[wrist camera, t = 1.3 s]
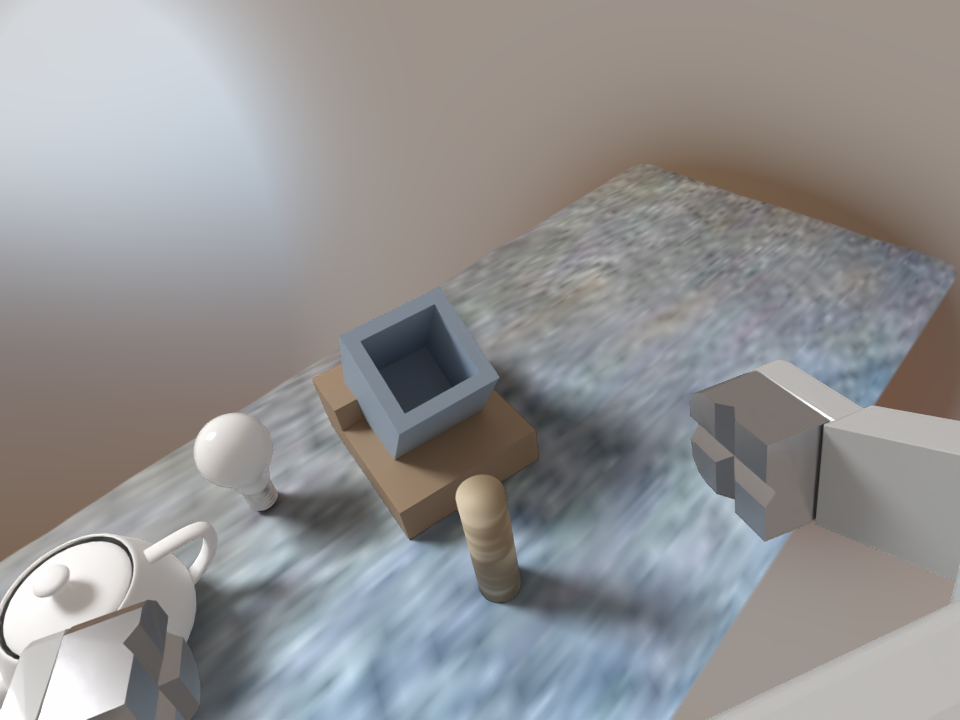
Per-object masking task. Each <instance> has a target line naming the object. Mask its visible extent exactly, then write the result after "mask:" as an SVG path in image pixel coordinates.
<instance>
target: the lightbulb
mask: <svg viewBox="0 0 960 720" xmlns="http://www.w3.org/2000/svg"><path fill="white" fill-rule="evenodd" d="M272 454H273V443H272V439H271V436H270V434H269V432H268V430H267V429H266V427H265V426H264V425H263V424H262V423H261V422H260V421H259V420H257V419H256V418H254V417H252V416H249V415H246V414H242V413H229V414H224V415H221V416H218V417H216V418H214V419H213V420H211V421H210V422H208V424H206V425H205V426H204V427H203V428H202V430H201V431H200V432H199V434H198V436H197V438H196V441H195V444H194V460H195V463H196V466H197V468H198V470H199V471H200V473H201V474H202V475H203V476H204V477H205V478H206V479H207V480H208V481H210V482H211V483H213V484H215V485H218V486H221V487H225V488H233V489H234V490H235V491H237V492H238V493H240V494H242V495H243V496H244V498H245V499H246V501H247V503H248V504H249V506H250V507H251V508H252V509H253V510H255V511H263V510H266V509H268V508H270V507H271V506H272V505H273V504H274V503H275V502H276V500H277V497H278V493H277V490H276V489H275V487H274V485H273V484H272V482H271V480H270V472H269V468H268V467H269V465H270V462H271V459H272Z"/></svg>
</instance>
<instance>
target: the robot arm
mask: <svg viewBox="0 0 960 720" xmlns="http://www.w3.org/2000/svg"><path fill="white" fill-rule="evenodd" d="M690 416H691V417H692V418H693V419H694V420H695V421H696V422H697V423H698V424H699V425H698V427H697V429H696V431H695V432H694V434H693V436H692V438H691V444H692V455H693V458H694V461H695V463H696V466H697V468H698V471H699V473H700V474H701V476H702V477H703V479H704V480H705V482H706V483H707V484H708V485H709V486H710V487H711V488H712V489H713V491H714V492H715V493H716V494H719V495H722V496H725V497H729V498H732V499H735V513H736V514H737V515H738V516H739V517H740V518H741V519H742V520H743V521H744V522H745V523H746V524H747V525H748V526H749V527H750V528H751V529H752V530H753V531H754V532H755V533H756V534H757V535H758V536H759V537H760V538H761V539H762V540H763V541H764V542H765V541H768V540H770V539H773V538H775V537H778V536H780V535H783V534H785V533H788V532H790V531H793V530H795V529H798V528H800V527H803V526H805V525H808V524H810V523H813V522H816V525H818V526H821V527H823V528H825V529H828V530H830V531H832V532H835V533H837V534H840V535H842V536H845V537H847V538H850V539H852V540H854V541H857V542H860V543H862V544H864V545H867V546H869V547H872V548H874V549H876V550H879V551H882V552H884V553H886V554H889V555H891V556H894V557H896V558H898V559H901V560H904V561H906V562H908V563H911V564H913V565H915V566H918V567H921V568H923V569H926V570H928V571H930V572H933V573H935V574H938V575H940V576H942V577H945V578H947V579H950V580H952V581H955V586H954V590H953V594H952V598H951V602H950V605H948V606H945V607H943V608H941V609H939V610H937V611H935V612H933V613H931V614H929V615H926V616H924V617H922V618H920V619H918V620H916V621H914V622H912V623H910V624H907V625H905V626H903V627H901V628H899V629H897V630H895V631H893V632H891V633H889V634H886V635H884V636H882V637H880V638H878V639H876V640H874V641H872V642H869V643H868V644H865V645H863V646H861V647H859V648H857V649H855V650H853V651H851V652H849V653H847V654H844V655H842V656H840V657H838V658H836V659H834V660H832V661H830V662H828V663H825V664H823V665H821V666H819V667H817V668H815V669H813V670H811V671H809V672H806V673H804V674H802V675H800V676H798V677H796V678H794V679H792V680H790V681H787V682H785V683H783V684H781V685H779V686H777V687H775V688H773V689H771V690H768V691H766V692H764V693H762V694H760V695H758V696H756V697H754V698H752V699H749V700H747V701H745V702H743V703H741V704H739V705H737V706H735V707H733V708H730V709H729V710H726V711H724V712H722V713H720V714H718V715H716V716H714V717H711V718H709V719H707V720H960V421H955V420H950V419H944V418H939V417H933V416H928V415H922V414H916V413H911V412H906V411H900V410H895V409H889V408H884V407H878V406H873V405H872V406H869V407H867V408H864V409H863V408H861V407H860V406H858V405H857V404H855V403H853V402H852V401H850V400H849V399H847V398H845V397H844V396H842V395H841V394H839V393H837V392H836V391H834V390H833V389H831V388H829V387H828V386H826V385H824V384H823V383H821V382H820V381H818V380H816V379H815V378H813V377H812V376H810V375H808V374H807V373H805V372H804V371H802V370H800V369H799V368H797V367H796V366H794V365H792V364H791V363H789V362H787V361H782V360H776V361H773V362H771V363H768V364H766V365H763V366H761V367H758V368H756V369H754V370H751V371H749V373H745V374H743V375H740V376H737V377H735V378H732V379H730V380H727V381H724V382H722V383H719V384H717V385H714V386H712V387H709V388H706V389H704V390H701V391H699V392H696V393H693V394H692V397H691V400H690ZM167 624H168V615H167V614H166V613H165V611H164V610H163V609H162V607H161V606H160V605H159V603H158V602H157V601H154V600H146V601H143V602H140V603H137V604H134V605H131V606H129V607H126V608H123V609H120V610H117V611H114V612H112V613H109V614H106V615H103V616H100V617H98V618H95V619H92V620H89V621H86V622H83V623H81V624H78V625H75V626H72V627H71V628H69V629H66V630H63V631H60V632H57V633H54V634H52V635H49V636H46V637H43V638H40V639H38V640H35V641H32V642H31V643H30V644H29V645H28V646H27V647H26V648H25V649H24V650H23V651H22V653H21V655H20V658H19V661H18V663H17V666H16V669H15V672H14V675H13V677H12V680H11V683H10V686H9V688H8V691H7V694H6V697H5V699H4V702H3V705H2V708H1V711H0V720H191V719H192V717H193V716H194V714H195V712H196V711H197V709H198V708H199V706H200V689H201V685H200V679H199V673H198V667H197V663H196V661H195V658H194V656H193V653H192V651H191V649H190V647H189V646H188V644H187V643H186V641H185V640H184V638H183V637H180V636H177V635H174V634H171V633H168V632H167Z"/></svg>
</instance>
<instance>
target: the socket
mask: <svg viewBox="0 0 960 720" xmlns="http://www.w3.org/2000/svg"><path fill="white" fill-rule="evenodd" d="M340 347H341V358H342V364H340V365H338V366H336V367H334V368H332V369H330V370H328V371H326V372H324V373H322V374H320V375H318V376H316V377H314V378H312V381H313V383H314V385H315V388H316V390H317V392H318V395H319V397H320V399H321V402H322V404H323V406H324V409H325V411H326V413H327V416H328V418H329V420H330V423H331V425H332V426H333V428H334V429H335V431H336V432H337V434H338V435H339V437H340V438H341V440H342V441H343V443H344V444H345V446H346V447H347V449H348V450H349V452H350V453H351V454H352V456H353V457H354V459H355V460H356V462H357V463H358V465H359V466H360V468H361V469H362V471H363V472H364V474H365V475H366V477H367V478H368V480H369V481H370V483H371V484H372V485H373V487H374V488H375V490H376V491H377V493H378V494H379V496H380V497H381V499H382V500H383V502H384V503H385V505H386V506H387V508H388V509H389V511H390V512H391V514H392V515H393V516H394V518H395V519H396V521H397V522H398V524H399V525H400V527H401V528H402V530H403V531H404V533H405V534H406V536H407V537H408V539H409V540H410V539H412V538H413V537H415V536H416V535H418V534H420V533H421V532H423V531H424V530H426V529H428V528H429V527H431V526H432V525H434V524H436V523H437V522H439V521H440V520H442V519H443V518H445V517H447V516H448V515H450V514H451V513H453V512H455V511H456V510H458V507H457V503H456V492H457V489H458V487H459V486H460V485H461V483H462V482H464V481H465V480H466V479H468V478H470V477H472V476H475V475H490V476H493V477H495V478H497V479H498V480H499V481H500V482H502V481H504V480H505V479H507V478H509V477H510V476H512V475H513V474H515V473H516V472H518V471H520V470H521V469H523V468H524V467H526V466H528V465H529V464H531V463H532V462H534V461H536V460H537V459H539V453H538V444H537V435H536V430H535V429H534V428H533V427H532V426H531V425H530V424H529V423H528V422H527V421H526V420H525V419H524V418H523V417H522V416H521V415H520V414H519V413H518V412H517V411H516V410H515V409H514V408H513V407H512V406H511V405H510V404H509V403H508V402H507V401H506V400H504V399H503V398H502V397H501V396H500V395H499V394H498V393H497V392H496V391H495V390H494V387H495V385H496V384H497V382H498V380H499V378H500V377H499V376H498V374H497V373H496V371H495V370H494V368H493V367H492V365H491V364H490V362H489V361H488V359H487V358H486V356H485V355H484V353H483V352H482V350H481V349H480V347H479V346H478V344H477V343H476V341H475V340H474V338H473V337H472V335H471V334H470V332H469V331H468V329H467V328H466V326H465V325H464V323H463V321H462V320H461V318H460V317H459V315H458V314H457V312H456V311H455V309H454V308H453V306H452V305H451V303H450V302H449V300H448V299H447V297H446V296H445V294H444V293H443V291H442V290H441V288H440V287H438V288H436V289H434V290H432V291H430V292H428V293H426V294H424V295H422V296H420V297H418V298H416V299H414V300H411V301H409V302H407V303H405V304H403V305H401V306H399V307H397V308H395V309H393V310H391V311H389V312H387V313H385V314H383V315H381V316H379V317H377V318H375V319H373V320H371V321H369V322H367V323H365V324H363V325H361V326H359V327H356V328H354V329H353V330H350V331H348V332H346V333H344V334H342V335H340Z"/></svg>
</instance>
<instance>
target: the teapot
mask: <svg viewBox="0 0 960 720" xmlns="http://www.w3.org/2000/svg"><path fill="white" fill-rule="evenodd" d="M200 538H203V546H202V549H201V552H200V554H199V556H198V558H197V559H196V561H195V562H194V564H193V565H192V566H191V567H190V568H189V570H187V569H186V567H185V566H184V564H183V563H182V562H181V561H180V560H179V559H177V558H176V557H175V556H174V555H173V554H171V553H172V552H173V551H175V550H177V549H179V548H180V547H182V546H184V545H186V544H188V543H190V542H192V541H194V540H196V539H200ZM217 544H218V539H217V534H216V532H215V530H214V528H213V527H212V526H211V525H210V524H209V523H206V522H197V523H194V524H191V525H188V526H186V527H184V528H182V529H180V530H178V531H176V532H174V533H173V534H171V535H169V536H167V537H166V538H164V539H162V540H161V541H159V542H157V543H156V544H152V543H150V542H147V541H144V540H140V539H136V538H131V537H126V536H120V535H113V534H106V533H105V534H92V535H87V536H82V537H79V538H76V539H74V540H71V541H68V542H66V543H64V544H62V545H60V546H58V547H56V548H54V549H53V550H51V551H50V552H48V553H46V554H45V555H43V556H42V557H40V558H39V559H38V560H37V561H36V562H34V563H33V564H32V565H31V566H29V567H28V568H27V569H26V570H25V571H24V572H23V573H22V574H21V575H20V576H19V577H18V578H17V580H16V581H15V582H14V584H13V585H12V586H11V587H10V589H9V590H8V592H7V593H6V595H5V597H4V598H3V600H2V602H1V604H0V709H1V708H2V705H3V702H4V699H5V697H6V694H7V691H8V688H9V686H10V683H11V680H12V677H13V675H14V672H15V669H16V666H17V663H18V661H19V658H20V655H21V653H22V651H23V650H24V649H25V648H26V647H27V646H28V645H29V644H30V643H31V642H32V641H35V640H38V639H40V638H43V637H46V636H49V635H52V634H54V633H57V632H60V631H63V630H66V629H69V628H71V627H72V626H75V625H78V624H81V623H83V622H86V621H89V620H92V619H95V618H98V617H100V616H103V615H106V614H109V613H112V612H114V611H117V610H120V609H123V608H126V607H129V606H131V605H134V604H137V603H140V602H143V601H146V600H154V601H157V602H158V603H159V605H160V606H161V607H162V609H163V610H164V611H165V613H166V614H167V615H168V624H167V632H168V633H171V634H174V635H177V636H180V637H183V638H184V640H185V641H186V643H187V641H188V638H189V636H190V633H191V630H192V627H193V625H194V619H195V614H196V590H195V587H194V585H195V584H196V583H197V582H198V580H199V579H200V578H201V577H202V575H203V574H204V573H205V571H206V570H207V569H208V567H209V565H210V564H211V562H212V560H213V558H214V556H215V553H216V550H217Z"/></svg>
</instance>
